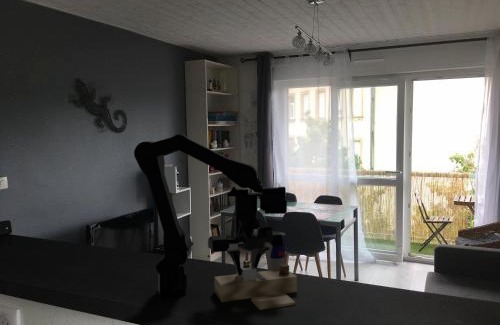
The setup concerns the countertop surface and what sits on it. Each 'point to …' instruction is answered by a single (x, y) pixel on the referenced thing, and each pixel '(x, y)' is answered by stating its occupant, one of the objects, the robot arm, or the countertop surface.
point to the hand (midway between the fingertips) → (246, 274)
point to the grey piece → (247, 272)
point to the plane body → (256, 285)
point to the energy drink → (276, 255)
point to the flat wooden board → (272, 301)
